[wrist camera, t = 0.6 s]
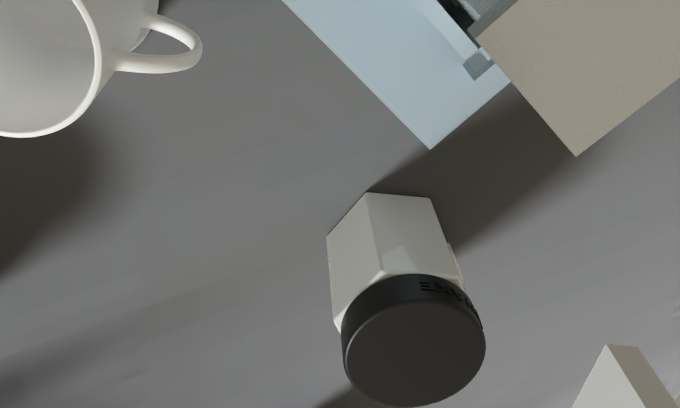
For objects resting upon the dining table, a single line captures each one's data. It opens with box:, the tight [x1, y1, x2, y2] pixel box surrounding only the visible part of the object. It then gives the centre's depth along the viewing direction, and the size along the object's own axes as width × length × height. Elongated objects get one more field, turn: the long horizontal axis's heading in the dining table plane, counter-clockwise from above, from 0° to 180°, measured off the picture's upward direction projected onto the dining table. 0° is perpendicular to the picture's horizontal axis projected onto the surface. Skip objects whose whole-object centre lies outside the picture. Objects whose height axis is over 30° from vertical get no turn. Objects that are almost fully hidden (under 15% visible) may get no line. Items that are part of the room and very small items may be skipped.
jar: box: [326, 192, 486, 407], centre depth 41 cm, size 9×8×12 cm
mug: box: [0, 0, 203, 138], centre depth 32 cm, size 12×8×12 cm
